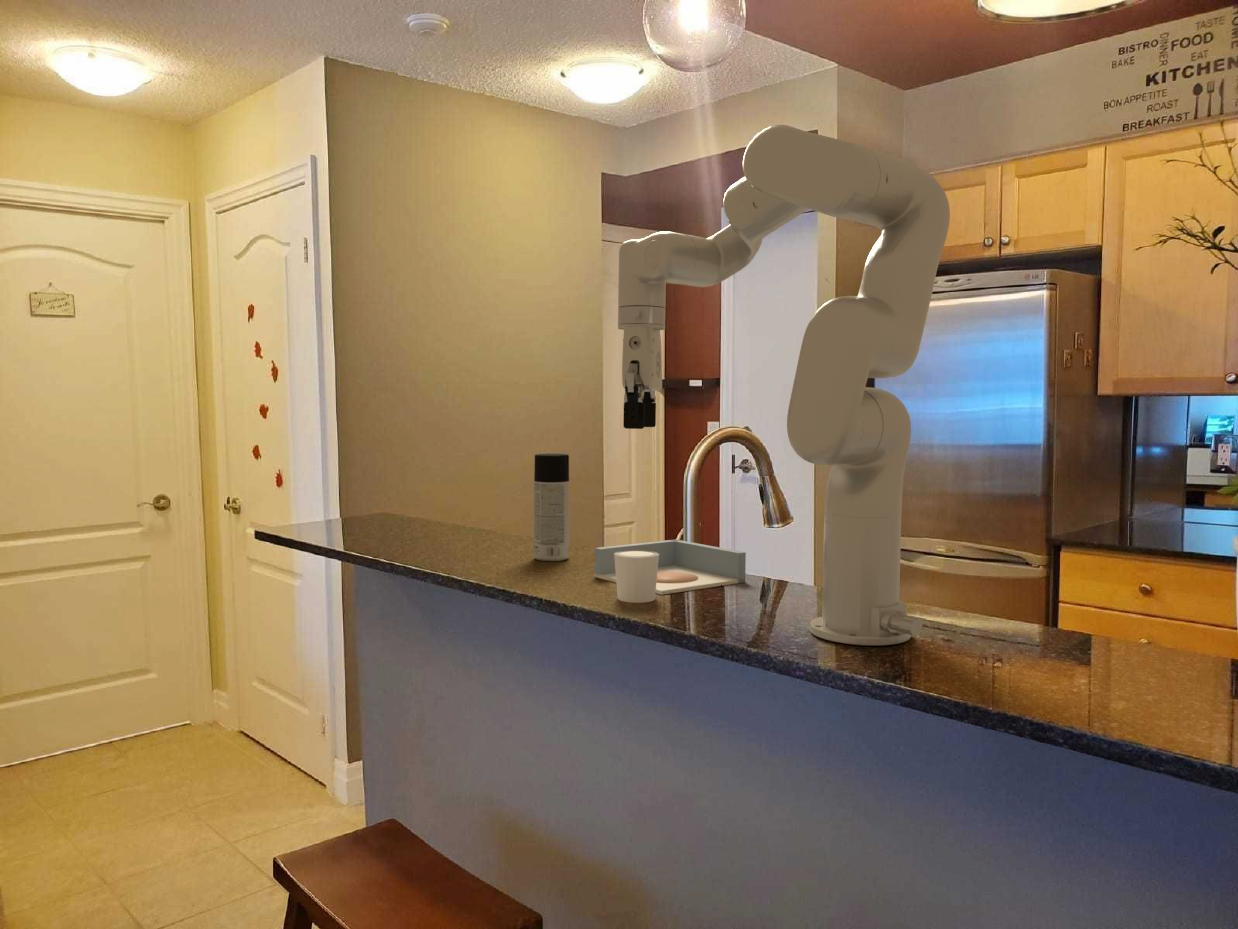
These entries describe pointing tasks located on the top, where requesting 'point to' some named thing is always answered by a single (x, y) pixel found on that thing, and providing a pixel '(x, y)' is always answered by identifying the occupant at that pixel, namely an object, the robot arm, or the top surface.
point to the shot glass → (636, 575)
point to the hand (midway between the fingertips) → (640, 427)
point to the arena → (680, 565)
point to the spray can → (551, 507)
